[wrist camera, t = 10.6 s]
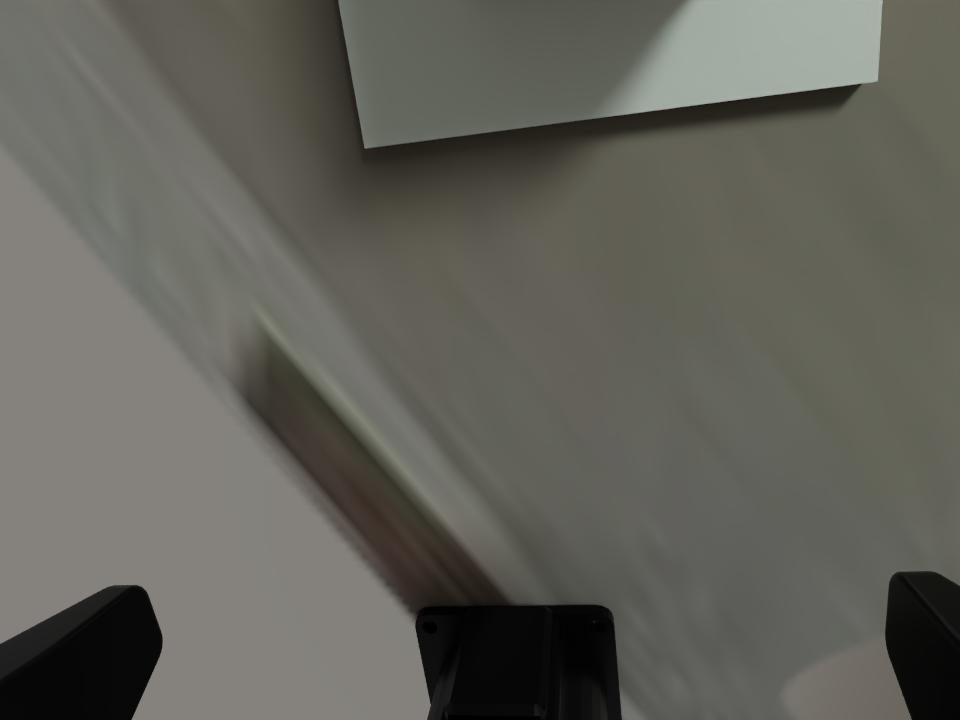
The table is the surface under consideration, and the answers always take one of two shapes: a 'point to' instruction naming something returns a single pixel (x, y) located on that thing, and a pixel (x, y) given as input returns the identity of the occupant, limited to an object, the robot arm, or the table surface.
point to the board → (589, 58)
